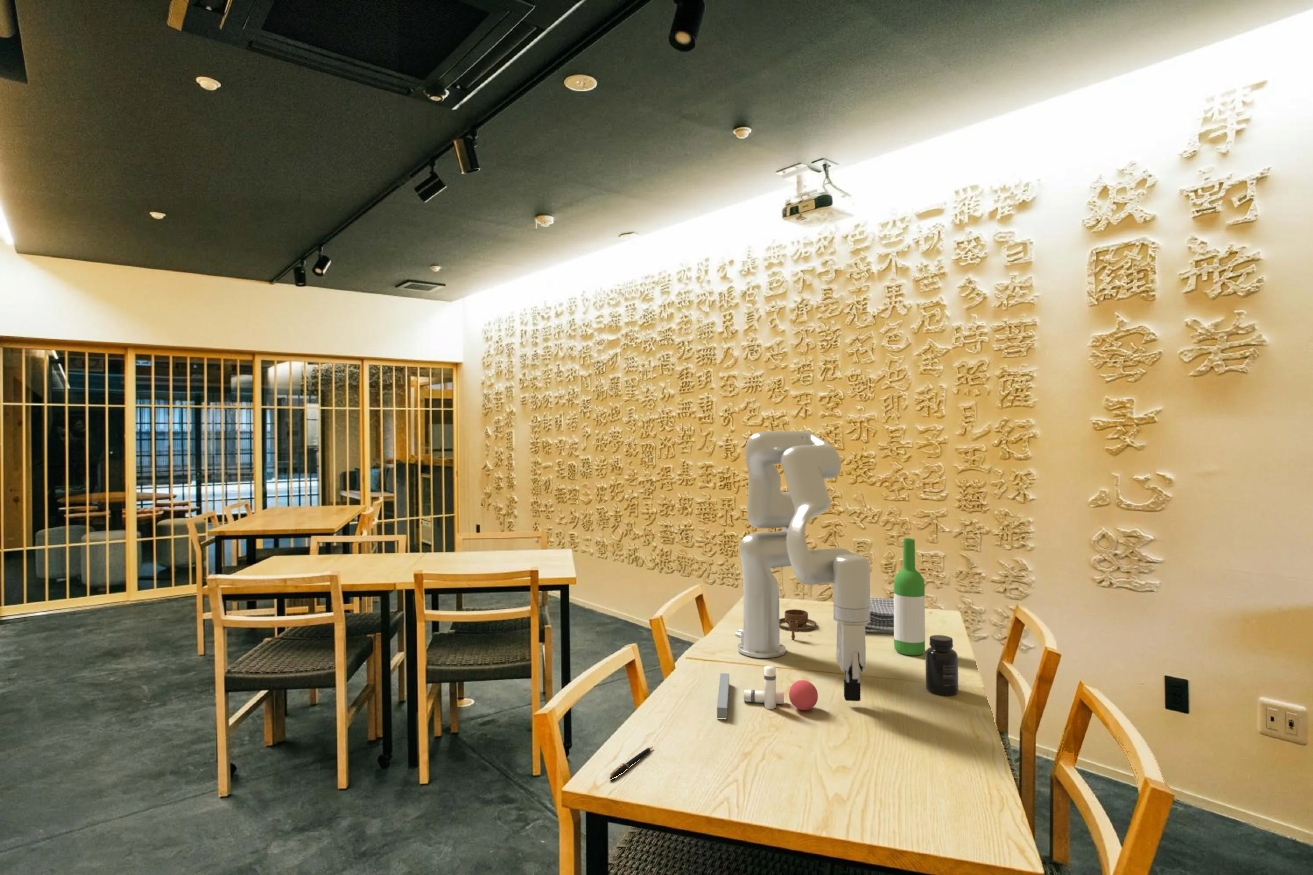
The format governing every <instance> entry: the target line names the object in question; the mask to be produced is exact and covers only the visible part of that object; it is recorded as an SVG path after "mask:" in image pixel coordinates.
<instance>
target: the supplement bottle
mask: <svg viewBox="0 0 1313 875" xmlns="http://www.w3.org/2000/svg"><path fill="white" fill-rule="evenodd" d="M953 642H954V640H953V638H952V637H951V636H948V635H943V634H934V635H933V634H932V635H930V636H929V646H930V647H928V648H927V649H925V651H924V653H925V657H924V658H925V662H924V663H925V687H926V689H927V691H928V692H929V693H931V694H934V695H938V696H944V697H945V696H946V697H947V696H949V697H950V696H954V695H957V694H958V693H959V656H958V655H959V654H958V652H956V650H954V649H953V648H954V643H953Z"/></svg>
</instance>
